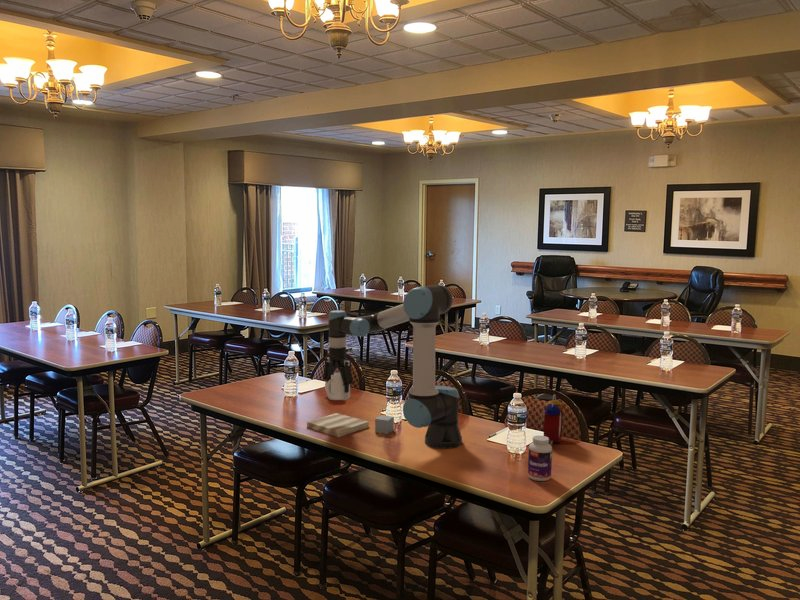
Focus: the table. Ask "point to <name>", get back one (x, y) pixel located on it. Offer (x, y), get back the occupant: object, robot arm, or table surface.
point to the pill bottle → (540, 459)
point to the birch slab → (337, 424)
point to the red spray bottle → (553, 421)
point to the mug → (336, 386)
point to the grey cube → (384, 424)
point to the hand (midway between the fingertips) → (337, 397)
